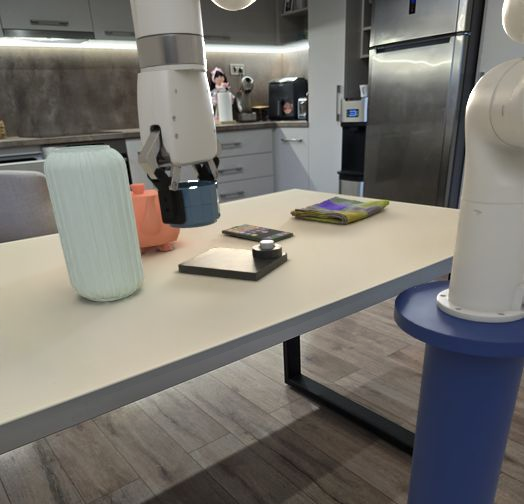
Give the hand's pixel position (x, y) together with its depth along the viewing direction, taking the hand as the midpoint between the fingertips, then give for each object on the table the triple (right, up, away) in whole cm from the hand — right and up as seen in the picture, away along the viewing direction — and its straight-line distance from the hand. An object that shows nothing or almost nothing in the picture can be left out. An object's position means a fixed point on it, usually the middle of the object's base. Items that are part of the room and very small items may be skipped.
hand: (192, 215), depth 62 cm
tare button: (+10, +2, +27) cm, 29 cm away
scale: (+4, -2, +27) cm, 28 cm away
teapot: (-15, +4, +42) cm, 45 cm away
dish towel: (+30, +19, +66) cm, 75 cm away
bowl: (0, -1, 0) cm, 1 cm away
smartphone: (+8, +9, +49) cm, 50 cm away
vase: (-16, -8, +17) cm, 24 cm away
